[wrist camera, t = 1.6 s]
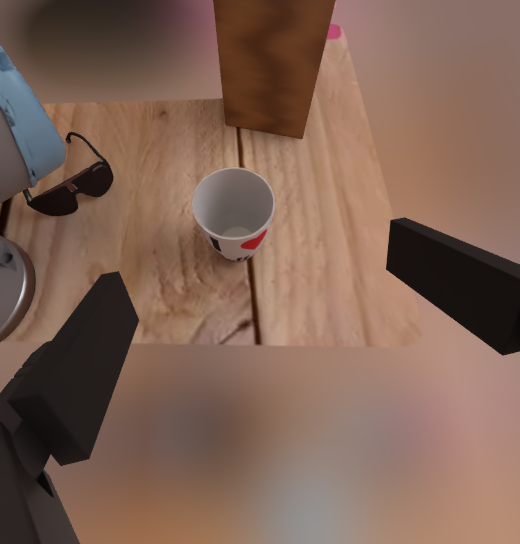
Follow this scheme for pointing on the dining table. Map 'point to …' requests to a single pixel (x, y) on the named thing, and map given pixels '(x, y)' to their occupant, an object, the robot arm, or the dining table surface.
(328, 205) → the dining table surface
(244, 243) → the cup
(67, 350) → the robot arm
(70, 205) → the sunglasses
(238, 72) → the stand
